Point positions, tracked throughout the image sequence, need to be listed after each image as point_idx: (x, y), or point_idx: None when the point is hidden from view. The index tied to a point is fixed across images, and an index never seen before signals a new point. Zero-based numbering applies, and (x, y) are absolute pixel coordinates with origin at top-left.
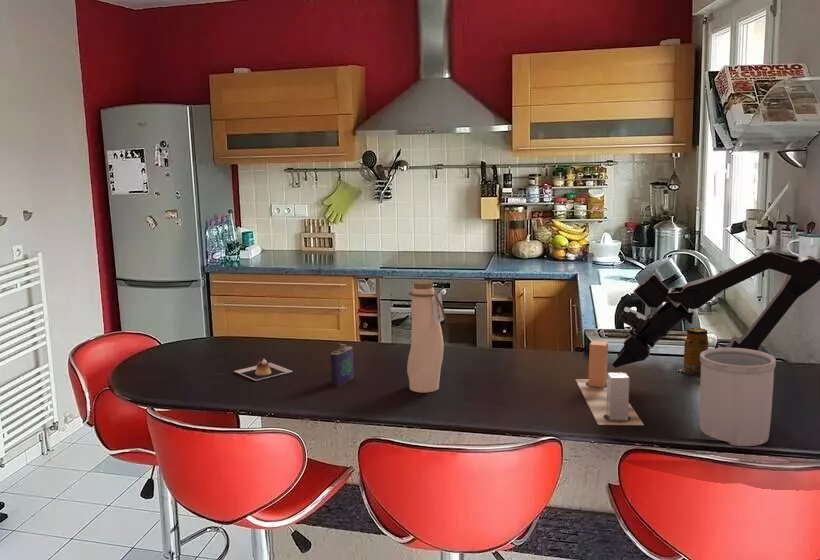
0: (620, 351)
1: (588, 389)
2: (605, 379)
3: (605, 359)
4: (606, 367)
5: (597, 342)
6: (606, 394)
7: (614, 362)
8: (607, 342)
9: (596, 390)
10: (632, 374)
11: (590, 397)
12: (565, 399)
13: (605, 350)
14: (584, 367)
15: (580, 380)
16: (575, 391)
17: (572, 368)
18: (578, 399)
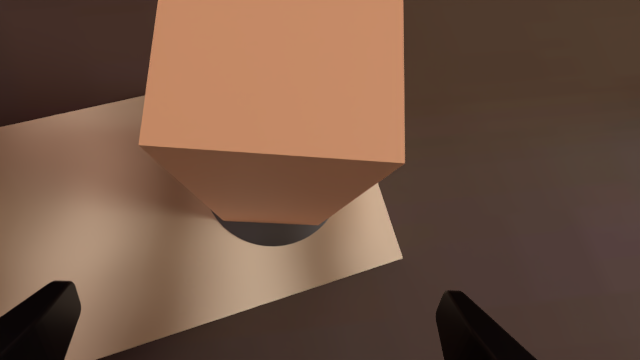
0: (467, 329)
1: None
2: (262, 218)
3: (206, 191)
4: (296, 210)
5: (316, 15)
6: (84, 247)
7: (18, 307)
8: (368, 157)
9: (154, 182)
10: (583, 349)
11: (2, 161)
12: (13, 38)
13: (161, 165)
14: (592, 86)
15: None
16: None
17: (551, 33)
18: (27, 102)
